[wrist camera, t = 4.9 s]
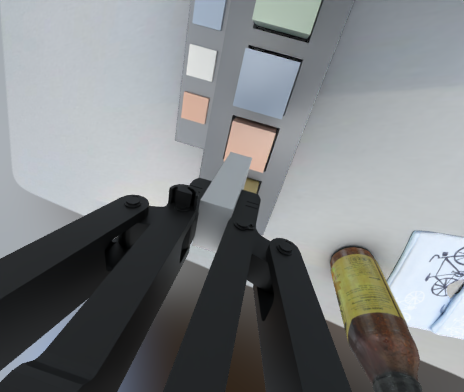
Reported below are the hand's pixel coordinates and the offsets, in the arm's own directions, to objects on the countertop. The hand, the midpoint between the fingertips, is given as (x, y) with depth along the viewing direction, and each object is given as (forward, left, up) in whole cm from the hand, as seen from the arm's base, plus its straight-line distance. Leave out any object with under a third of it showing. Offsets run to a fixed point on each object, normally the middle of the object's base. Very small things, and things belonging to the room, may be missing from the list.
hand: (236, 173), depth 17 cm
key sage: (0, -11, -12) cm, 16 cm away
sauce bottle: (-19, +15, -14) cm, 28 cm away
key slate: (0, -5, -12) cm, 13 cm away
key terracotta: (0, +2, -14) cm, 14 cm away
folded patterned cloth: (-34, +14, -15) cm, 40 cm away
